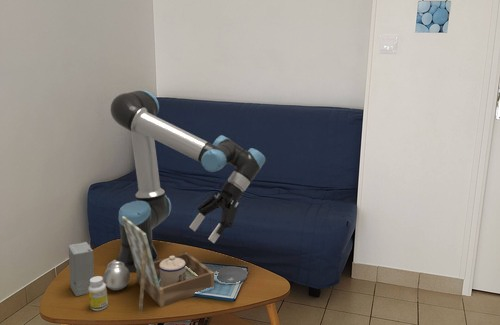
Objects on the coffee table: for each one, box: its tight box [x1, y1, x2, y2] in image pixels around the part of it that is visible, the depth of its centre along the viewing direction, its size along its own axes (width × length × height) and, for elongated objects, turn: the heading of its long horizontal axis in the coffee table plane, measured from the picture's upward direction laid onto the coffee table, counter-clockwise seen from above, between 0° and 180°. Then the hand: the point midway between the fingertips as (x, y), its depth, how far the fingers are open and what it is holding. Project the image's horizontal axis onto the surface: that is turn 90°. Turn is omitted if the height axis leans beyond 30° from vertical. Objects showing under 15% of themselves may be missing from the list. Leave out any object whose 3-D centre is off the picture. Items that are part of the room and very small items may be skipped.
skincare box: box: [67, 241, 95, 297], centre depth 158 cm, size 8×7×16 cm
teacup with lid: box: [159, 255, 187, 287], centre depth 160 cm, size 12×9×12 cm
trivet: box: [215, 265, 248, 283], centre depth 167 cm, size 12×12×1 cm
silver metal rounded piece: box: [103, 259, 131, 291], centre depth 159 cm, size 9×10×10 cm
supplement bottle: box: [88, 275, 109, 311], centre depth 148 cm, size 5×5×10 cm
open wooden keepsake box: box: [122, 216, 215, 312], centre depth 157 cm, size 20×27×26 cm
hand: (201, 235), depth 164 cm, fingers open, 13 cm apart
